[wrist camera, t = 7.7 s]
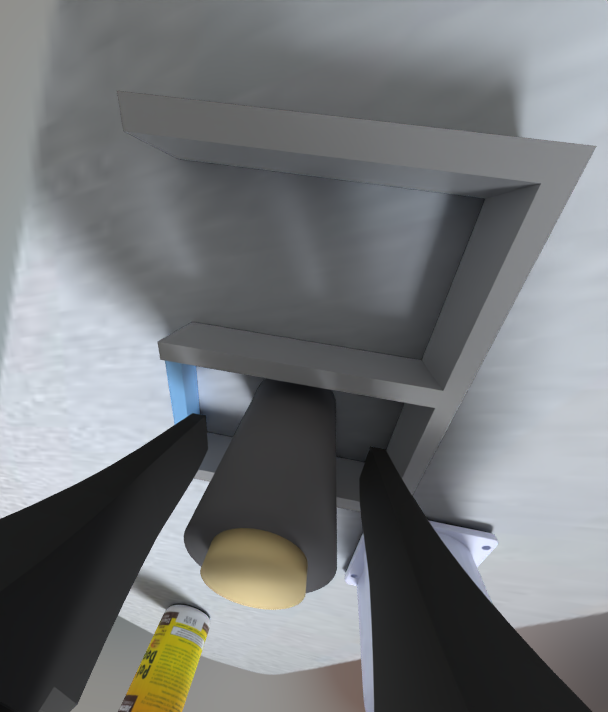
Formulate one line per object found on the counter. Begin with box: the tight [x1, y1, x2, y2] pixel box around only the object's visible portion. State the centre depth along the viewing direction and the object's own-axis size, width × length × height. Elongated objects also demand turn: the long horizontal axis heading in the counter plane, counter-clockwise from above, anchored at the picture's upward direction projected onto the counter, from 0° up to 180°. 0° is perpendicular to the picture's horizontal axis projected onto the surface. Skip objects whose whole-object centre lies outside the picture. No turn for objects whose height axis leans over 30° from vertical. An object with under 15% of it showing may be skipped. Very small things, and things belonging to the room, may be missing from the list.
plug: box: [184, 378, 337, 610], centre depth 10 cm, size 4×4×8 cm
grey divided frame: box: [117, 91, 596, 512], centre depth 10 cm, size 15×13×2 cm
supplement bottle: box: [118, 605, 210, 712], centre depth 24 cm, size 6×6×10 cm
